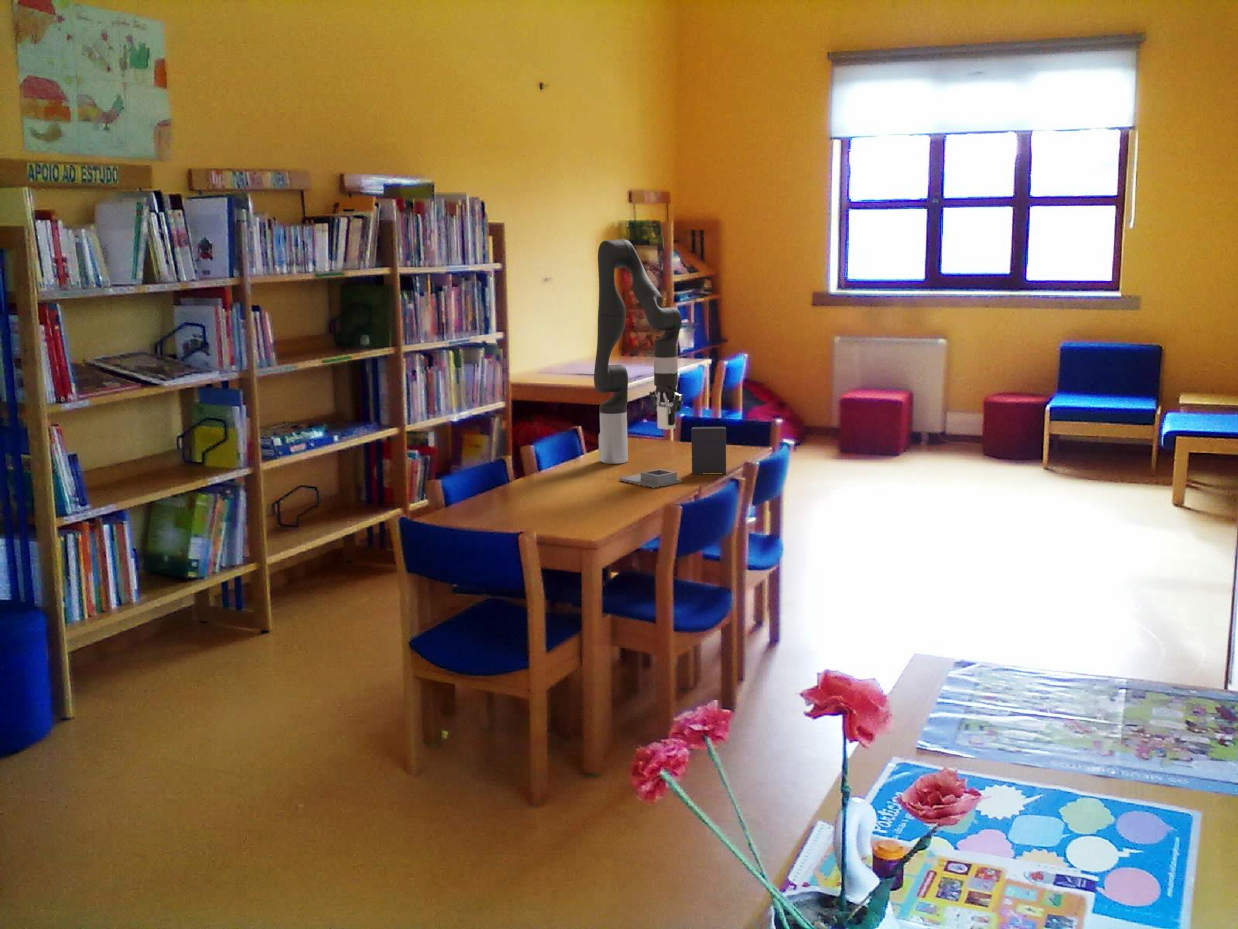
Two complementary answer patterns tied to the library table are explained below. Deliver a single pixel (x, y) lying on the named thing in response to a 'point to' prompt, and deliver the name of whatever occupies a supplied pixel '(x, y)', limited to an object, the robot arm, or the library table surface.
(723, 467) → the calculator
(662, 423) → the charger
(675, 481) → the grey base with socket
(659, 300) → the robot arm
